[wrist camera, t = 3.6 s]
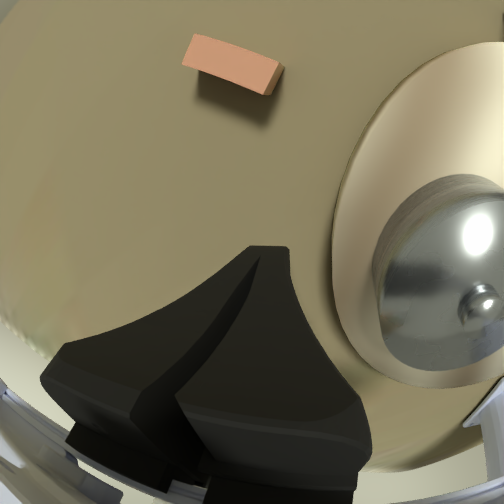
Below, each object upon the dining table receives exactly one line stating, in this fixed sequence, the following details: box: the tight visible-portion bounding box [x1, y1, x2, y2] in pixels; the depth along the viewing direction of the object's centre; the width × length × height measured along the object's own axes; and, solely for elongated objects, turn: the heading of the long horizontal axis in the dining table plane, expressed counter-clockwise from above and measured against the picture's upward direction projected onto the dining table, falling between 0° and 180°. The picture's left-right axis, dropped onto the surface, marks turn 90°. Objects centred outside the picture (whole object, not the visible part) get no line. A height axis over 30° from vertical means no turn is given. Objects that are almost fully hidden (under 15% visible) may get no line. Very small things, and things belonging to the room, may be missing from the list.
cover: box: [372, 174, 504, 371], centre depth 8 cm, size 7×7×3 cm
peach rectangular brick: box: [182, 34, 284, 95], centre depth 8 cm, size 3×1×2 cm, turn 66°
